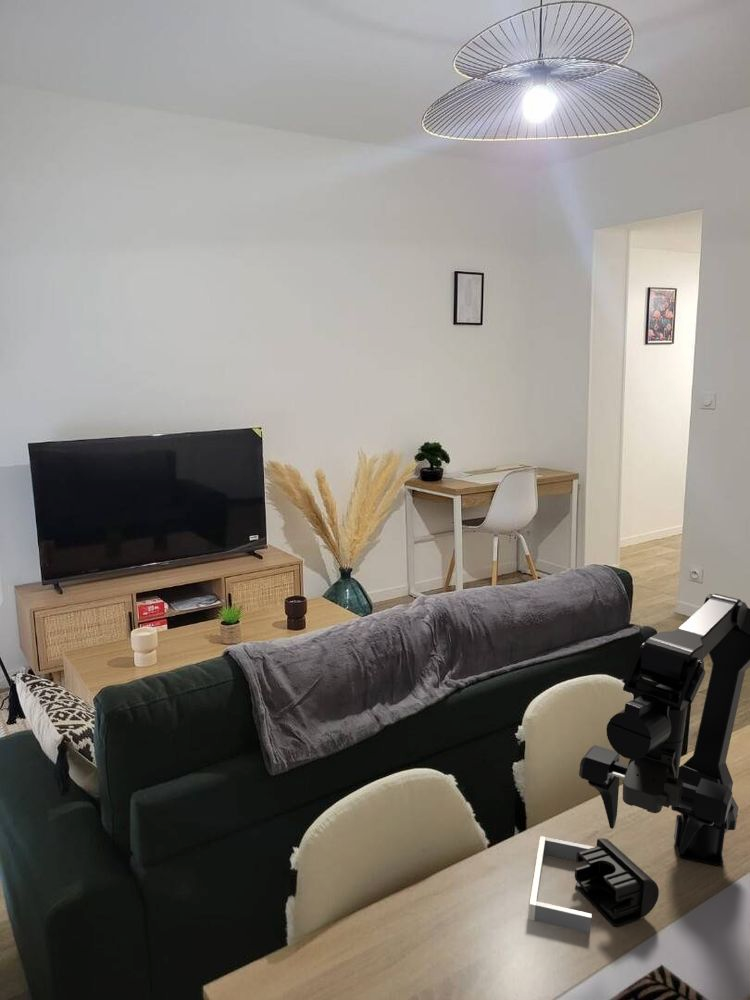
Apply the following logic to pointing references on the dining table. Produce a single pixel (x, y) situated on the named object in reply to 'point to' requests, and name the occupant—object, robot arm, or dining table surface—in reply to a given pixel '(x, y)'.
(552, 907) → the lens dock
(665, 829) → the dining table surface
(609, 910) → the end cap
